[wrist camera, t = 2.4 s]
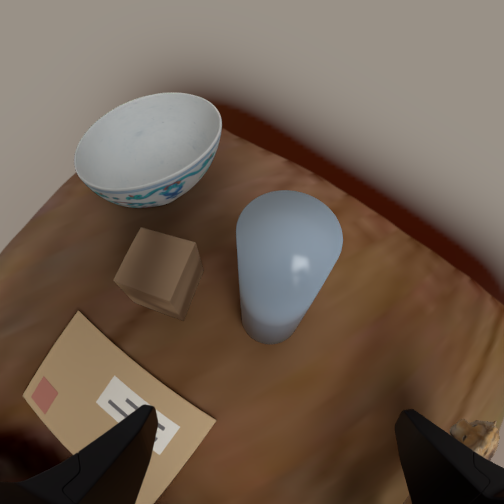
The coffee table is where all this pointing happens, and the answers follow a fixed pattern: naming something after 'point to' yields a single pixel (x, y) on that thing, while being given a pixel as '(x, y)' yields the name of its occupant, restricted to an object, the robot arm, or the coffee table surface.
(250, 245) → the grey cylinder
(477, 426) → the lion figurine
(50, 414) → the envelope
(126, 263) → the walnut block
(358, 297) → the coffee table surface
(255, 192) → the coffee table surface
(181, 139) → the chinaware
